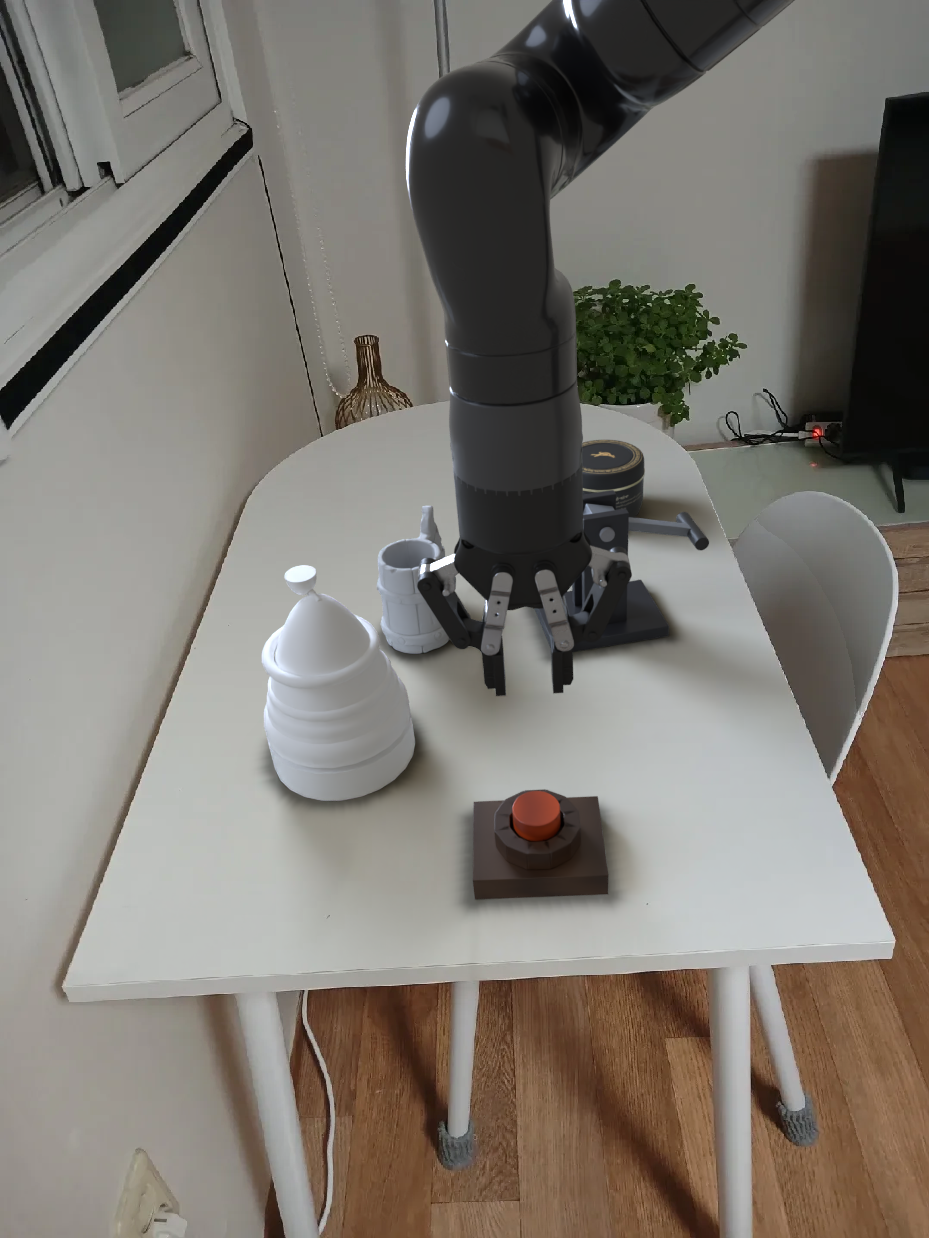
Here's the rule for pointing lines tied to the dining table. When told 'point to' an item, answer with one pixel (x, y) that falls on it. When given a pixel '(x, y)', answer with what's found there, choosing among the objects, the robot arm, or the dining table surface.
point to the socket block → (539, 852)
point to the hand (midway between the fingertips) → (529, 686)
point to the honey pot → (333, 700)
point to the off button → (536, 816)
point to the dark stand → (636, 605)
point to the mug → (410, 590)
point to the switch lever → (661, 526)
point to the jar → (614, 472)
